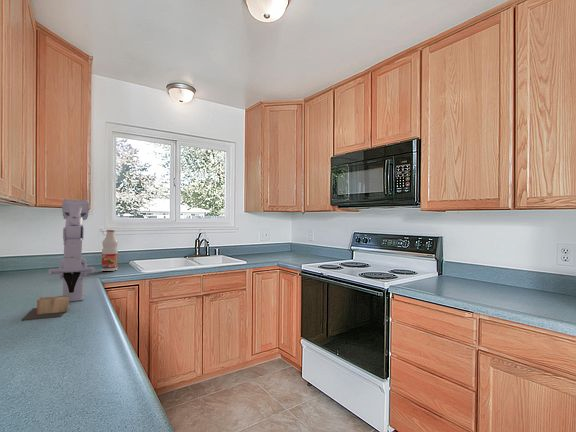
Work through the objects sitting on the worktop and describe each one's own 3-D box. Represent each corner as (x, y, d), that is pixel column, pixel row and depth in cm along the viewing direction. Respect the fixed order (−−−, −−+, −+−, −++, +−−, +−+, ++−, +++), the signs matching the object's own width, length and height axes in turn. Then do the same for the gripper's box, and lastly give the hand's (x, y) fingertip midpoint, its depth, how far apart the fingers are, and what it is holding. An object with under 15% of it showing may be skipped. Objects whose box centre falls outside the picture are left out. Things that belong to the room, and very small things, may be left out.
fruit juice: (120, 270, 215) (121, 230, 216) (108, 272, 206) (109, 230, 207) (110, 269, 219) (111, 229, 219) (97, 271, 210) (99, 229, 210)
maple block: (68, 308, 122) (39, 310, 118) (69, 295, 122) (40, 297, 118) (66, 311, 118) (36, 314, 114) (67, 298, 118) (37, 300, 114)
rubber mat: (32, 308, 121) (32, 308, 121) (67, 305, 126) (67, 305, 126) (21, 320, 107) (21, 319, 107) (60, 316, 112) (60, 315, 112)
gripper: (47, 258, 114) (45, 296, 114) (94, 257, 121) (92, 292, 121) (50, 256, 120) (49, 292, 120) (95, 255, 127) (94, 289, 127)
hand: (71, 292), depth 121 cm, fingers closed
